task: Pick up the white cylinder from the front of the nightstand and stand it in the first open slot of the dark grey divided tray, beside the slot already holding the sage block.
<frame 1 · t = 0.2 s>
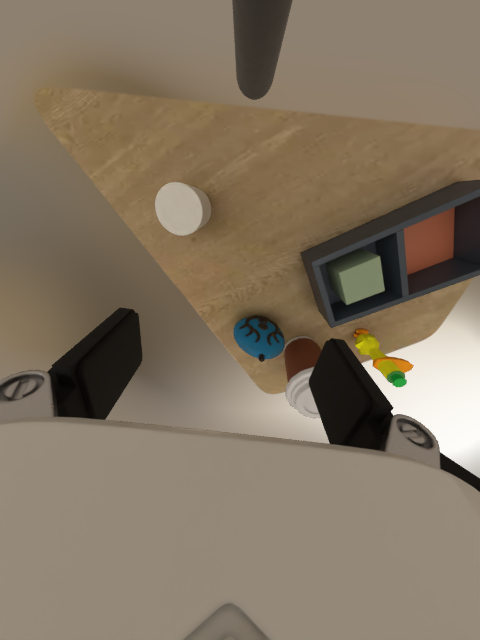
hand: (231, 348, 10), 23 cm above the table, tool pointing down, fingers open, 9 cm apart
ornament: (257, 321, 37), on the table
sage block: (345, 271, 31), point 1 cm above the table, touching dark grey divided tray
white cylinder: (192, 208, 28), on the table
coffee cup: (300, 349, 40), on the table
toy figure: (360, 332, 37), on the table
dark grey divided tray: (377, 256, 31), on the table
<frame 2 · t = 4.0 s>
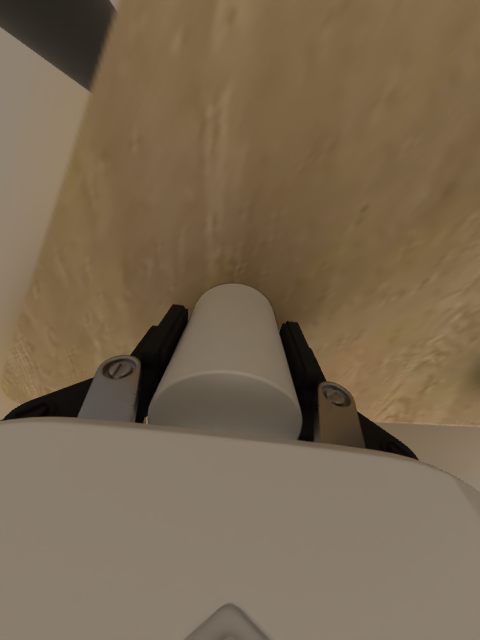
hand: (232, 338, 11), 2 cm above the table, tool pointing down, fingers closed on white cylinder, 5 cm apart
white cylinder: (233, 321, 13), on the table, touching gripper
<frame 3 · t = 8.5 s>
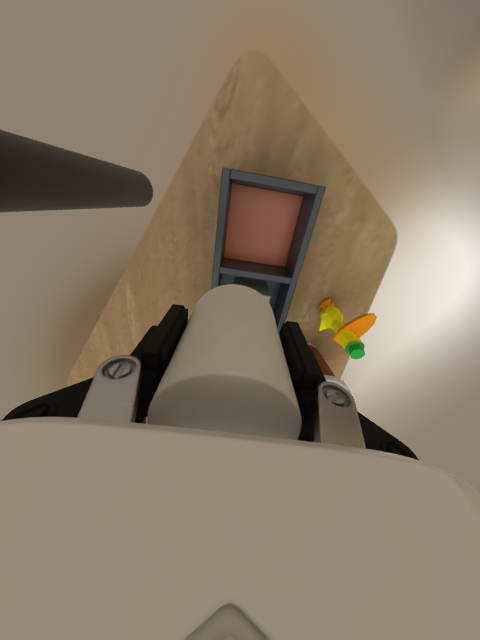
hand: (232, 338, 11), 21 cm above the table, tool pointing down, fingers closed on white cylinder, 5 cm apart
sage block: (248, 296, 32), point 1 cm above the table, touching dark grey divided tray
white cylinder: (233, 322, 13), point 20 cm above the table, touching gripper
coffee cup: (300, 355, 39), on the table
toy figure: (326, 303, 34), on the table
dark grey divided tray: (253, 264, 30), on the table
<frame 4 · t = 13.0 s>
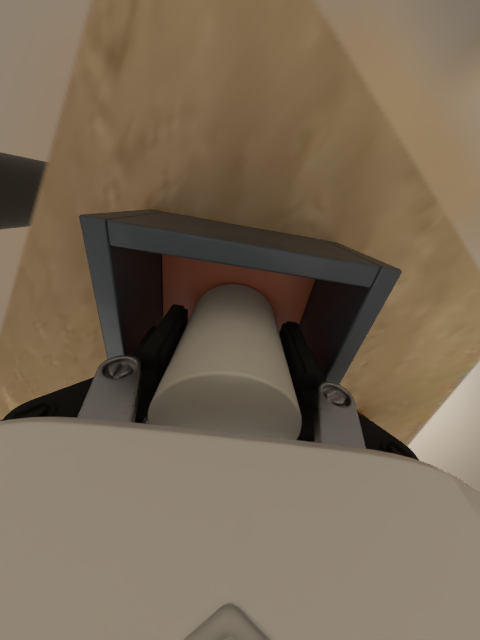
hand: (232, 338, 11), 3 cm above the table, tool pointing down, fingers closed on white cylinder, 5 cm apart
white cylinder: (233, 322, 13), point 1 cm above the table, touching gripper
dark grey divided tray: (224, 364, 16), on the table
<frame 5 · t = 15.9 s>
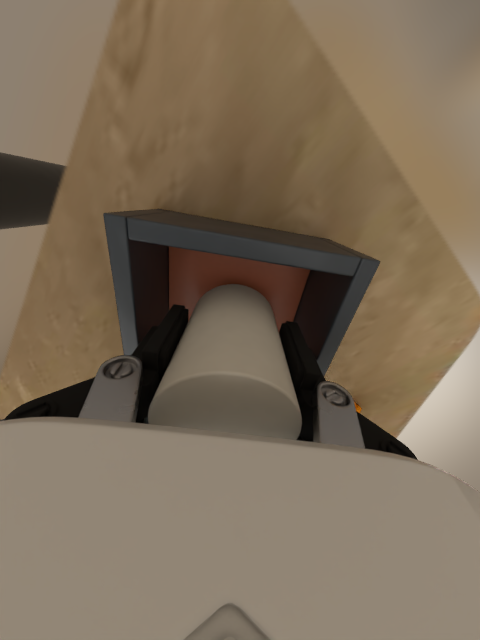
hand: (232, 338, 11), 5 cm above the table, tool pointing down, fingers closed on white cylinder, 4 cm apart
white cylinder: (233, 322, 13), point 3 cm above the table, touching gripper
dark grey divided tray: (225, 354, 18), on the table
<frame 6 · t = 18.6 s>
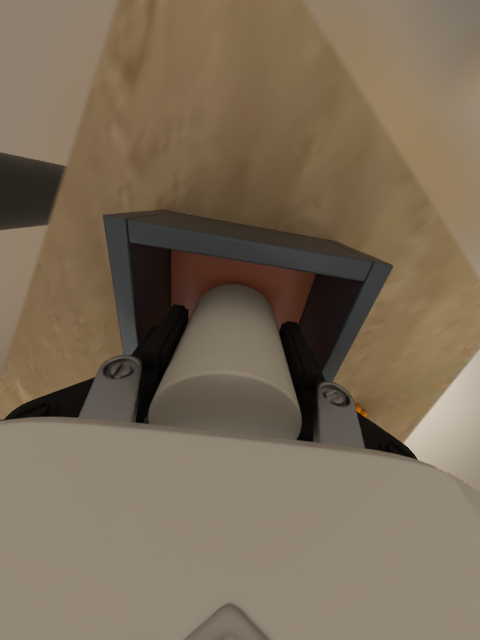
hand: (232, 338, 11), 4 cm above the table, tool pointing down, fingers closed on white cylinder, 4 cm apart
white cylinder: (233, 321, 13), point 2 cm above the table, touching gripper
dark grey divided tray: (228, 358, 17), on the table
when the fingers open (5 cm above the table, at t = 23.9 s): white cylinder drops 2 cm, resting on dark grey divided tray.
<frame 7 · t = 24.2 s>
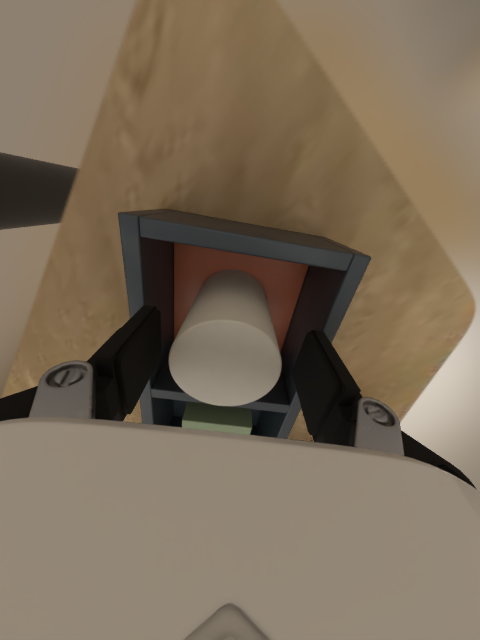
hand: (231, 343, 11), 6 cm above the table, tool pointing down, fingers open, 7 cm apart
sage block: (220, 392, 20), point 1 cm above the table, touching dark grey divided tray
white cylinder: (232, 302, 15), point 1 cm above the table, touching dark grey divided tray
dark grey divided tray: (227, 348, 18), on the table
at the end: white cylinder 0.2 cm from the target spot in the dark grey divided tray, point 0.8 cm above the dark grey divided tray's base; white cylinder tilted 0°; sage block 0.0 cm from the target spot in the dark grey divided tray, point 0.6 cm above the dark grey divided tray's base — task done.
